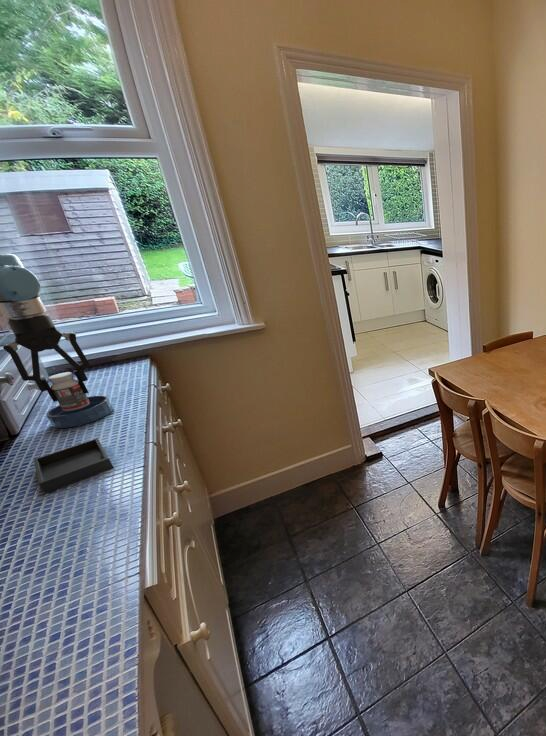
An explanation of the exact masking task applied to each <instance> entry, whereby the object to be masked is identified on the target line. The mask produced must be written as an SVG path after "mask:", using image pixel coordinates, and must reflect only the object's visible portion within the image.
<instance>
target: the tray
mask: <svg viewBox="0 0 546 736" xmlns="http://www.w3.org/2000/svg"><path fill="white" fill-rule="evenodd" d="M33 463H34V469H35V473H36V478H37V484H38V485H39V487H40V489H41V490H42V492H43V493H44V494H48V493H51V492H53V491H57V490H58V489H61V488H65V487H67V486H69V485H72V484H75V483H77V482H81V481H83V480H85V479H88V478H91V477H94V476H96V475H98V474H101V473H103V472H106V471H109V470H111V469H115V467H114V465H113V463H112V461H111V459H110V458H109V456H108V454H107V452H106V450H105V449H104V447H103V444H102V443H101V441H100V439H99V437H96V438H94V439H90V440H88V441H85V442H81V443H78V444H75V445H72V446H70V447H66V448H63V449H61V450H58V451H55V452H51V453H49V454H46V455H43V456H39V457H36V458H33Z"/></svg>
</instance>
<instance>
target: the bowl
mask: <svg viewBox="0 0 546 736" xmlns="http://www.w3.org/2000/svg"><path fill="white" fill-rule="evenodd" d="M87 398H88V400H89V402H90V403H89V405H87V406H86V407H83V408H81V409H77V410H73V411H64V410H62V408H61V406H60V404H59V405H56V406H54V407H52V408H51V409H49V410H48V411H47V412H46V413H45V415H46V418H47V419H48V420H49V423H50V424H51V426H52V427H53V428H55V429H69V428H74V427H79V426H84V425H87V424H90V423H93V422H95V421H98V420H100V419H102V418H104V417H106V416H108V415H109V414H111V413H112V412H113V410H114V408H113V406H112V404H111V402H110V400H109V398H108V397H107V395H106V396H105V395H91V396H87Z"/></svg>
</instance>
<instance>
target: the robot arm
mask: <svg viewBox="0 0 546 736" xmlns="http://www.w3.org/2000/svg"><path fill="white" fill-rule="evenodd" d="M40 291H41V282H40V279H39V278H38V276H37V275H36V274H35V273H33V271H31V270H30V269H27V268H26V267H25V266H24V264H23V263H22V261H21V260H20V258H19V257H18V256H17V255H16V254H14V253H0V312H1V313H2V315H3V317H4V318H6V319H8V320H7V324H8V326H9V328H10V329H11V331H12V333H13V334H14V336H15V338H14V341H12V342H9V343H4V344H3V346H2V349H3V350H4V351H5V352H7V353H8V354H9V355H10V357H11V359H12V361H13V363H14V365H15V367H16V369H17V371H18V374H19V375H20V378H21V379H22V380H23V382H27V381H31V382H32V381H33V382H35V384H36V387H38V390H40V392H47V393H48V395H49V396H50V398H51V400H52V402H53V403H56V402H58V401H57V399H56V397H55V395H54V394H53V392H52V390H51V385H50V384H49V382H48V380H47V378H46V377H45V376H43V377H41V369H40V359H39V357H40V356H39V353H40V352H44V351H46V350H47V351H48V350H50V351H51V350H54V351H55V352H56V353H58V354H59V355H60V356H61V357H62V358H63V359H64V361H66V362H67V363H68V364H69V365H71V366H72V367H73V368H74V369H75V370H73V373H74V376H75V378H76V380H78V381H79V383H80V385H81V387H82V389H83V390H84V392H85V394H86V395H87V394H89V393H90V392H89V390H88V389H87V387H86V385H85V383H84V382H87V381H88V377H87V375H86V373H85V371H84V370H85V369H86V368H89V367H90V366H91V365H90V362H89V360H88V359H87V357H86V355H85V354H84V352H83V351H82V349H81V347H80V345H79V343H78V342H77V334H76V333H75V332H74V331H69V332H61V331H60V330H59V329H57V327H56V325H55V323H54V321H53V320H52V317H51V316H50V314H48V313H47V308H46V307H45V304H44V303H43V301H42V299H41V297H40V295H39V293H40ZM62 338H64V340H65V341H68V342H69V343H70V345H71V346H72V349H74V351H75V354H76V355H77V356H78V358H79V360H80V361H81V363H78V362H77V361H76V360H75V359H74V358H73V357H72V356H71V355H70V354H69V353H68V352H67V351H66V350H65V349H64V348H63V347H62V346H61V345H59V343H60V341H61V339H62ZM18 346H21V347H23V348H24V349H27V350H28V351H29V350H30V355H31V357H30V358H31V365H32V366H31V368H32V374H29V373H28V371H27V369H26V367H25V364H24V363H23V361H22V359H21V357H20V355H19V353H18V351H19V347H18Z"/></svg>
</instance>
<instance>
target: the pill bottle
mask: <svg viewBox="0 0 546 736" xmlns="http://www.w3.org/2000/svg"><path fill="white" fill-rule="evenodd" d="M47 379H48V381H49V382H50V384H51V385H50V388H51V390H52V392H53V394H54V395H55V397H56V399H57V401H56V402H57V403H58V404H59V405H60V406H61V408H62V410H64V411H73V410H77V409H81V408H83V407H86V406H87V405H89V403H90V402H89V400H88V398H87V397H88V396H87V393H86V394H85V392H84V390H83V389H82V387H81V385H80V383H79V381H78V379H76V378H74V375H73V373H72V372H71V371H66V372H60V373H57V374H53V375H50V376H49V377H48V378H47Z"/></svg>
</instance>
